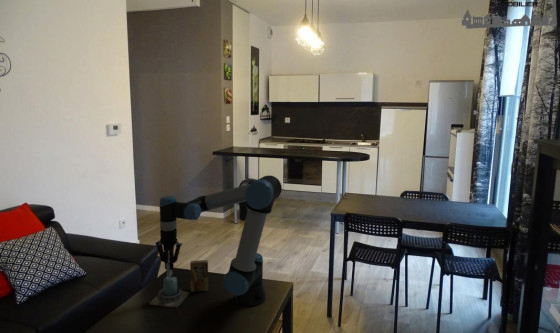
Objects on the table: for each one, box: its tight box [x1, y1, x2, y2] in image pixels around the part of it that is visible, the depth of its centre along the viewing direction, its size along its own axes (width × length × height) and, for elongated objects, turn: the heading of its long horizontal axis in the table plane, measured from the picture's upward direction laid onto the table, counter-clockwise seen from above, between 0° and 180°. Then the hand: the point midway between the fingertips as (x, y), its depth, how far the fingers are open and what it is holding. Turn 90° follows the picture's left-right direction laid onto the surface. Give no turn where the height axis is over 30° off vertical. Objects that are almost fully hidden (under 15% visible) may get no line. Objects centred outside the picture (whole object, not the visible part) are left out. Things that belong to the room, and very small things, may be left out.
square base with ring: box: [148, 286, 191, 309], centre depth 184 cm, size 14×14×4 cm
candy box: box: [190, 259, 209, 293], centre depth 193 cm, size 9×4×15 cm, turn 103°
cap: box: [162, 276, 178, 297], centre depth 184 cm, size 6×6×10 cm
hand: (169, 275), depth 183 cm, fingers closed
